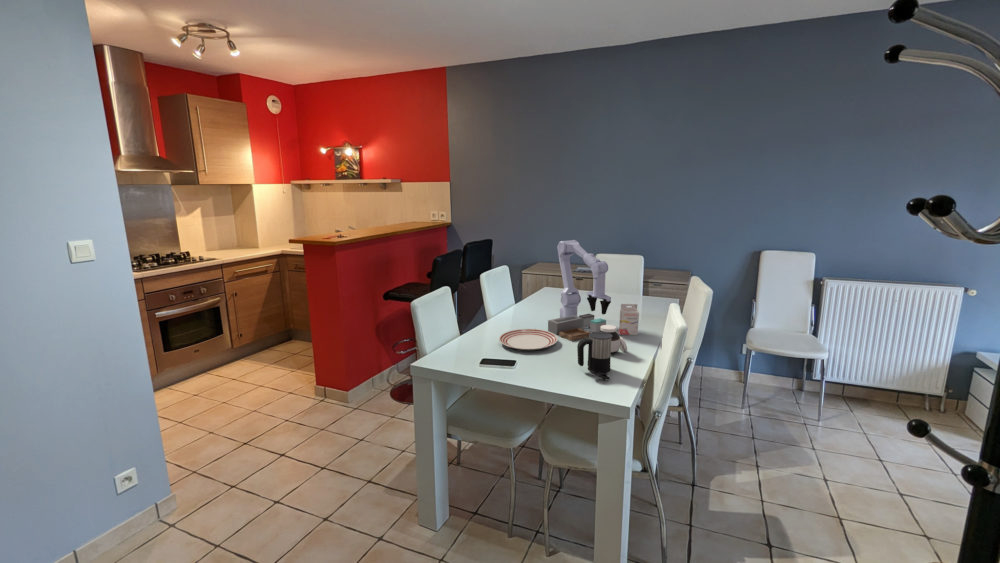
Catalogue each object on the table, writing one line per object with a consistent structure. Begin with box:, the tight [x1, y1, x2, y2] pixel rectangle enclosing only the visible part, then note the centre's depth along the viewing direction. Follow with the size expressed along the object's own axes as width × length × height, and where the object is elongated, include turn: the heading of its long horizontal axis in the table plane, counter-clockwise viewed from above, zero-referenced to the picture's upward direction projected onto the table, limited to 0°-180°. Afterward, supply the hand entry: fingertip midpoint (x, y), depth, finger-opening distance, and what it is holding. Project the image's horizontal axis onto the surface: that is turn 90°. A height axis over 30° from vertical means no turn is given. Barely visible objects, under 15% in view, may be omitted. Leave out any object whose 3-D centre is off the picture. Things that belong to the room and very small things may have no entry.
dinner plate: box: [498, 328, 558, 351], centre depth 222 cm, size 28×27×3 cm
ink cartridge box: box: [618, 303, 640, 336], centre depth 234 cm, size 9×5×15 cm, turn 84°
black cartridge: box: [578, 313, 595, 329], centre depth 247 cm, size 4×7×6 cm, turn 123°
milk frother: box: [576, 332, 612, 381], centre depth 184 cm, size 14×16×15 cm
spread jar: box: [599, 324, 628, 356], centre depth 209 cm, size 12×11×12 cm
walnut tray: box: [558, 328, 591, 342], centre depth 231 cm, size 9×12×2 cm
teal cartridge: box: [589, 318, 607, 333], centre depth 238 cm, size 4×7×6 cm, turn 123°
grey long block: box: [547, 315, 584, 336], centre depth 241 cm, size 7×17×6 cm, turn 123°
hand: (598, 312), depth 237 cm, fingers open, 7 cm apart
